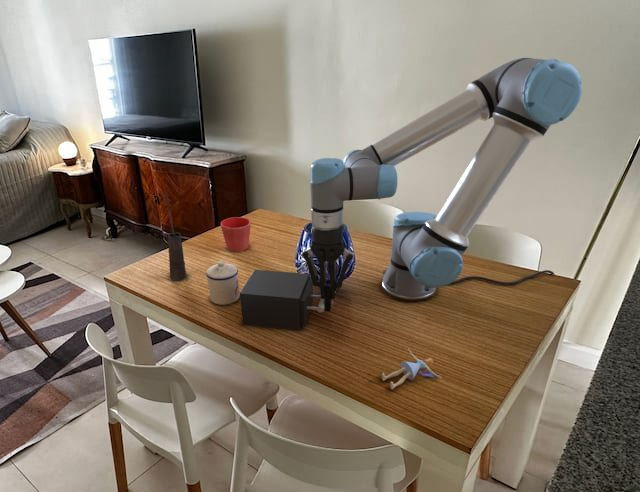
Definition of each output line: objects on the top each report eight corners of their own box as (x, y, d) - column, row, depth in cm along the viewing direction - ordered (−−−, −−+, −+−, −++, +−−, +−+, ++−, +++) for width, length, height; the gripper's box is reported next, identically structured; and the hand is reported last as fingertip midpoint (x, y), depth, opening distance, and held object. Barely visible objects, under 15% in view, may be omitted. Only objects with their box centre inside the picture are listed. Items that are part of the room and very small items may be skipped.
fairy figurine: (371, 357, 100) (415, 338, 104) (372, 373, 103) (415, 354, 106) (403, 389, 91) (451, 367, 94) (403, 406, 93) (450, 384, 97)
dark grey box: (309, 303, 128) (309, 273, 124) (299, 330, 117) (299, 298, 112) (256, 298, 132) (254, 269, 127) (242, 324, 120) (239, 293, 116)
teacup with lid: (243, 302, 130) (240, 266, 125) (212, 308, 128) (207, 271, 123) (234, 283, 140) (231, 249, 135) (205, 288, 138) (200, 254, 133)
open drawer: (328, 303, 126) (329, 279, 122) (321, 328, 116) (321, 302, 112) (263, 297, 130) (262, 273, 127) (251, 321, 120) (249, 296, 116)
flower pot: (258, 244, 166) (256, 219, 161) (240, 255, 158) (238, 229, 153) (235, 239, 171) (233, 214, 167) (217, 250, 163) (214, 224, 159)
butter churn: (194, 283, 142) (181, 197, 128) (163, 286, 141) (147, 199, 127) (195, 270, 150) (182, 187, 136) (165, 273, 149) (150, 190, 135)
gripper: (297, 230, 107) (301, 314, 118) (352, 232, 104) (351, 318, 115) (303, 218, 113) (306, 300, 124) (356, 220, 110) (354, 303, 121)
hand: (328, 308), depth 119 cm, fingers closed
